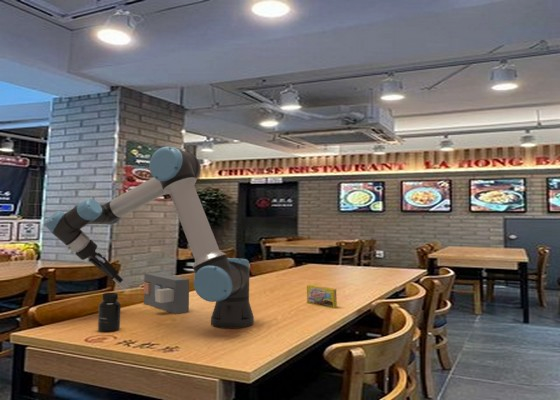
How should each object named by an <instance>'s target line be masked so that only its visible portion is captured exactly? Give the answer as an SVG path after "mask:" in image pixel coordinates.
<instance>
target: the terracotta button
mask: <svg viewBox="0 0 560 400" xmlns="http://www.w3.org/2000/svg"><path fill="white" fill-rule="evenodd" d="M144 293H145V294H150V282H144V281H143V294H144Z"/></svg>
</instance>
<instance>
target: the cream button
mask: <svg viewBox="0 0 560 400" xmlns="http://www.w3.org/2000/svg"><path fill="white" fill-rule="evenodd" d="M155 301H156V302H159V303H165V302H173V301H174V288H166V289H156V290H155Z"/></svg>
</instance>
